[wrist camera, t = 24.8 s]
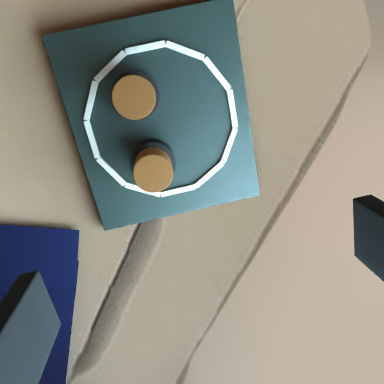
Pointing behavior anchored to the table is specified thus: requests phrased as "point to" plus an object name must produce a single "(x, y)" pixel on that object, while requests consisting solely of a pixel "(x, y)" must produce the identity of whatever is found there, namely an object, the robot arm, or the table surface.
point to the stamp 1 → (135, 95)
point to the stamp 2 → (152, 165)
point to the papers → (45, 280)
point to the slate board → (160, 108)
